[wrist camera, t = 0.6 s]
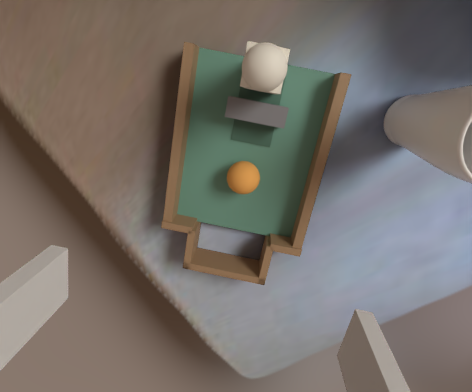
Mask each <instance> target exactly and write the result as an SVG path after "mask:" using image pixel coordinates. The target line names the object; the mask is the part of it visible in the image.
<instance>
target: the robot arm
mask: <svg viewBox="0 0 472 392" xmlns="http://www.w3.org/2000/svg"><path fill="white" fill-rule="evenodd" d="M67 299H68V248H63V247H59V246H54V245H51V246H49V247H48V248H47V249H45V250H44V251H43V252H41V253H40V254H39V255H37V256H36V257H35V258H33V259H32V260H31V261H29V262H28V263H26V264H25V265H24V266H22V267H21V268H20V269H18V270H17V271H16V272H14V273H13V274H12V275H10V276H9V277H8V278H6V279H5V280H3V281H2V282H1V283H0V371H1V369H2V368H3V367H4V366H5V365H6V364H7V363H8V362H9V361H10V360H11V359H12V358H13V357H14V356H15V354H16V353H17V352H18V351H19V350H20V349H21V348H22V347H23V346H24V345H25V344H26V342H28V340H29V339H30V338H31V337H32V336H33V335H34V334H35V333H36V332H37V331H38V330H39V329H40V327H42V325H43V324H44V323H45V322H46V321H47V320H48V319H49V318H50V317H51V315H53V314H54V313H55V311H56V310H57V309H58V308H59V307H60V306H61V305H62V304H63V303H64V302H65V301H66V300H67ZM337 357H338V361H339V364H340V368H341V372H342V376H343V379H344V383H345V387H346V390H347V392H410V389H409V387H408V385H407V383H406V381H405V379H404V377H403V375H402V373H401V371H400V369H399V367H398V365H397V362H396V360H395V358H394V356H393V354H392V352H391V350H390V348H389V346H388V344H387V342H386V340H385V338H384V336H383V333H382V331H381V329H380V327H379V325H378V323H377V321H376V319H375V317H374V315H373V313H372V312H367V311H362V310H358V309H355V311H354V314H353V316H352V319H351V321H350V324H349V326H348V329H347V331H346V334H345V337H344V339H343V342H342V344H341V347H340V349H339V352H338V355H337Z"/></svg>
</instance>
